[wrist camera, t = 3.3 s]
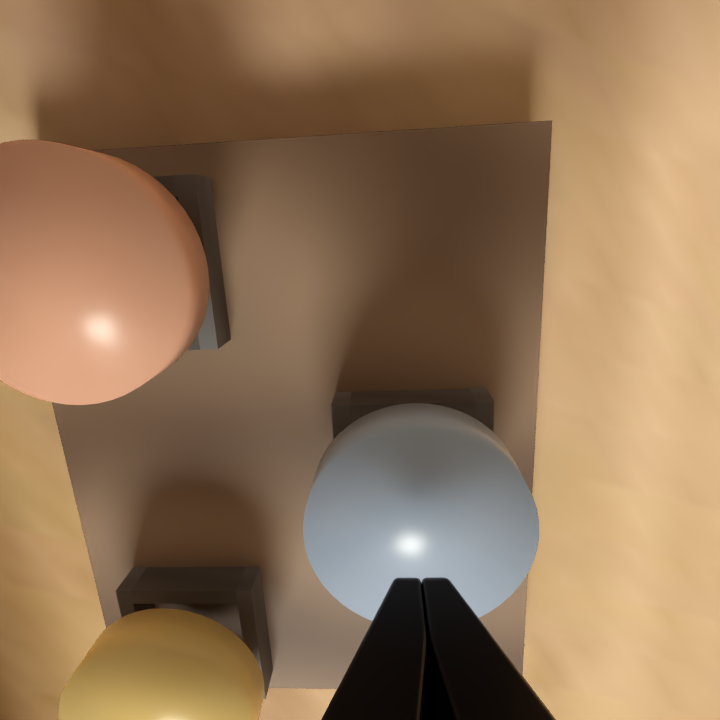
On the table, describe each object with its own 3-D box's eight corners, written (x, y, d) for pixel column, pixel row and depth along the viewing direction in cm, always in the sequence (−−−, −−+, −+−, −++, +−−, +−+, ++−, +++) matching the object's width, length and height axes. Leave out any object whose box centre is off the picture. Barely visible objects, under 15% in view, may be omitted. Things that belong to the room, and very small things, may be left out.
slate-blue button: (506, 556, 12) (533, 630, 9) (325, 557, 12) (312, 630, 10) (513, 383, 10) (545, 424, 8) (311, 389, 11) (293, 430, 9)
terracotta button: (238, 365, 11) (200, 401, 8) (48, 372, 11) (-34, 408, 9) (211, 150, 9) (160, 129, 7) (-1, 164, 10) (-110, 148, 8)
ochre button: (281, 710, 13) (261, 801, 11) (128, 707, 14) (81, 796, 12) (264, 577, 12) (238, 652, 10) (97, 578, 12) (38, 651, 10)
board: (508, 647, 15) (530, 722, 13) (144, 644, 16) (103, 715, 14) (530, 133, 11) (568, 110, 9) (40, 165, 12) (-43, 150, 10)
